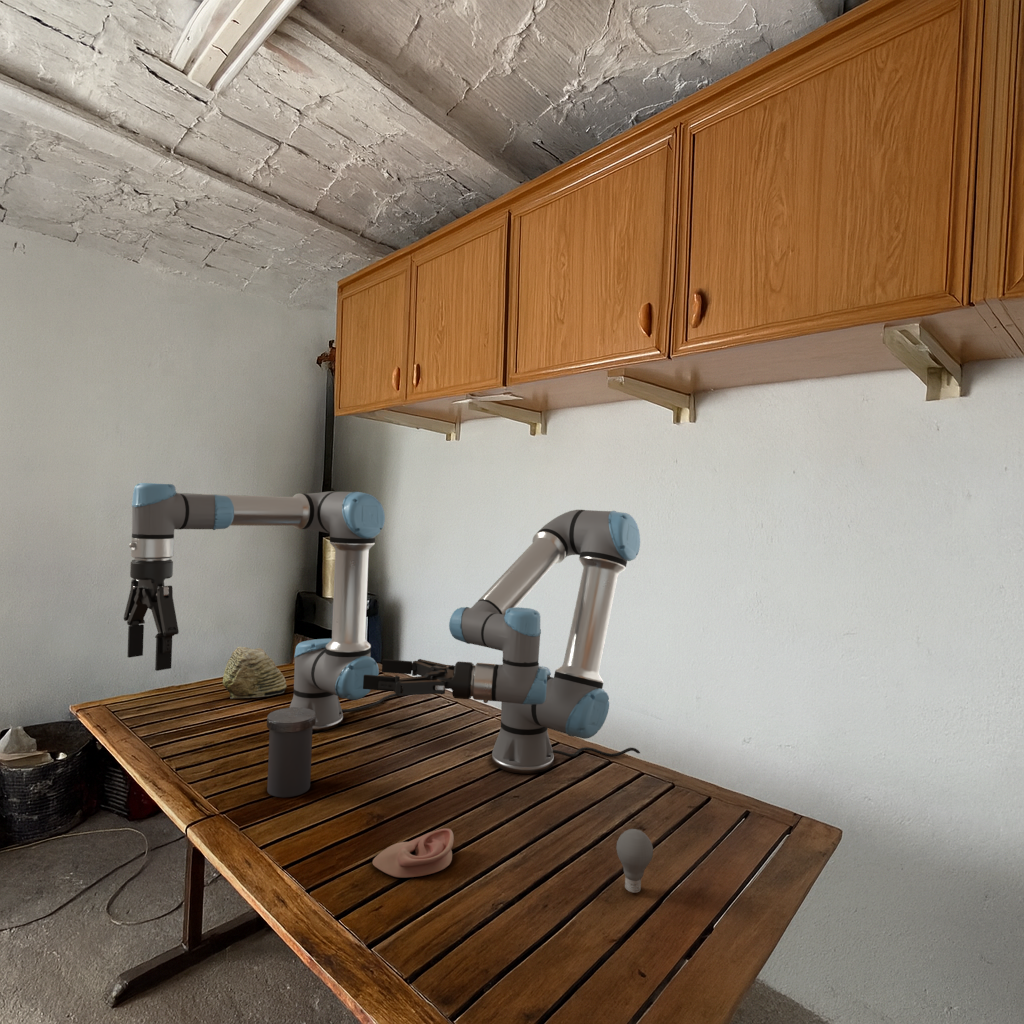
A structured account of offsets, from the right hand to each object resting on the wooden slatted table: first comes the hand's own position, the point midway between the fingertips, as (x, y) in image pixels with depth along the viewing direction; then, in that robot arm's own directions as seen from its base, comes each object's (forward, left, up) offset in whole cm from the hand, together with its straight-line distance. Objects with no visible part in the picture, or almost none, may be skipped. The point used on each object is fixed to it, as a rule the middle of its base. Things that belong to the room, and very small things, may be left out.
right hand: (373, 673), depth 134 cm
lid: (+16, -9, -11) cm, 21 cm away
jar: (+16, -9, -27) cm, 32 cm away
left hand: (+44, -12, +1) cm, 45 cm away
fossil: (+24, -77, -27) cm, 85 cm away
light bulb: (-37, +45, -27) cm, 64 cm away
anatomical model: (-4, +26, -27) cm, 37 cm away
